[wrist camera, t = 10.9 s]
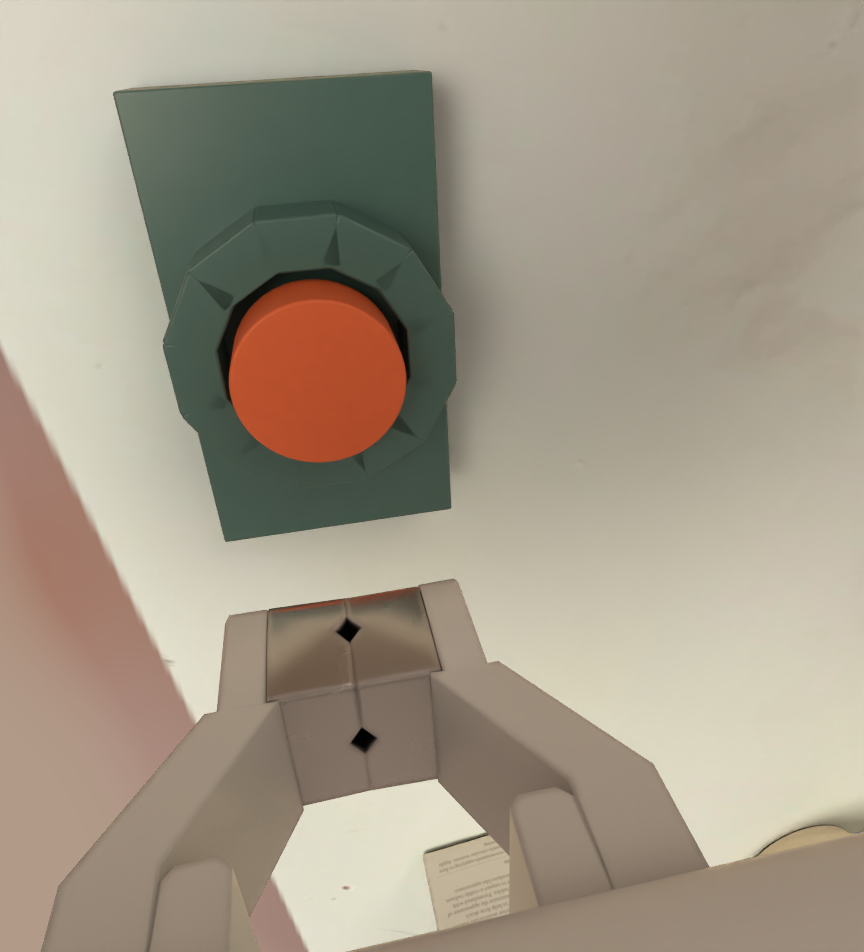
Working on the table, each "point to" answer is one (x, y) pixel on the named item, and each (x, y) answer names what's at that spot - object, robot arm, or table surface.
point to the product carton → (468, 882)
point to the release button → (316, 371)
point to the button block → (298, 270)
